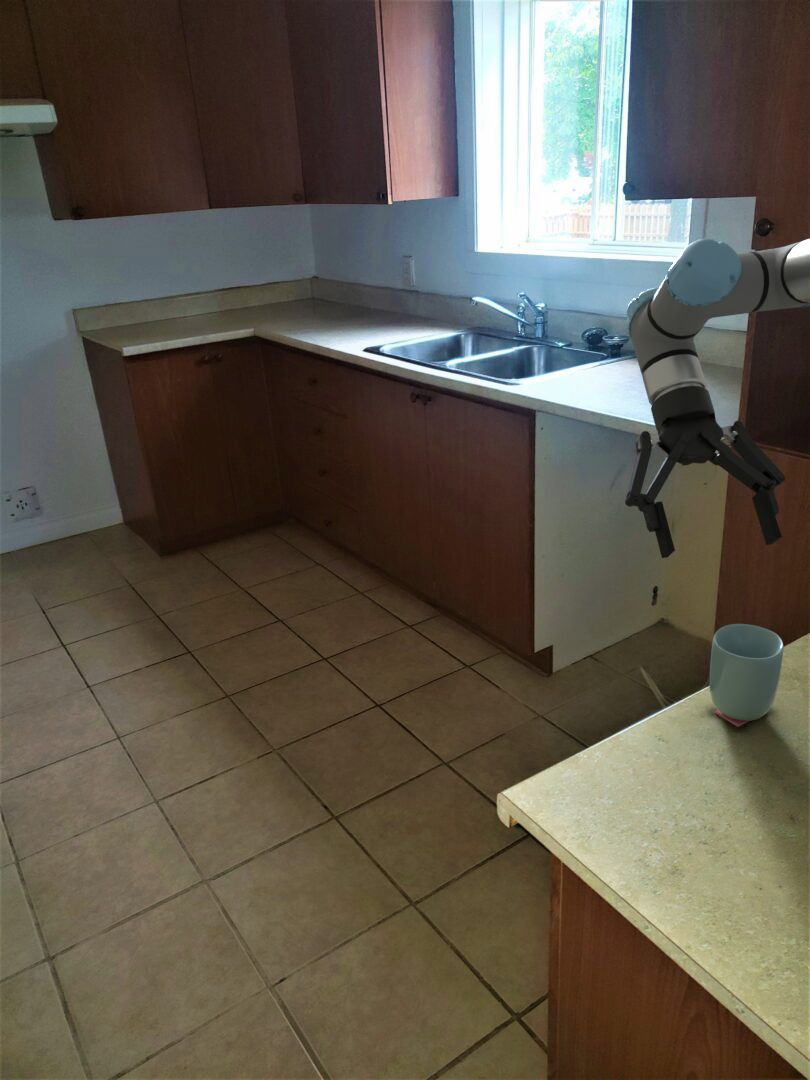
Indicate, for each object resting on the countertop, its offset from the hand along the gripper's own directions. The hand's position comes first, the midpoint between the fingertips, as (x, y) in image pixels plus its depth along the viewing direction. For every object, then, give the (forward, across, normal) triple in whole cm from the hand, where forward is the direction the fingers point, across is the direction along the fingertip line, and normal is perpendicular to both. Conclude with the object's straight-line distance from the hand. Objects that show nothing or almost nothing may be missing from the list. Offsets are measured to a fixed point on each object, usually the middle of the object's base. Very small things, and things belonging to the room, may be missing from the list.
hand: (721, 548), depth 101 cm
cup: (+19, +1, -6) cm, 20 cm away
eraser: (+20, +1, -6) cm, 21 cm away
